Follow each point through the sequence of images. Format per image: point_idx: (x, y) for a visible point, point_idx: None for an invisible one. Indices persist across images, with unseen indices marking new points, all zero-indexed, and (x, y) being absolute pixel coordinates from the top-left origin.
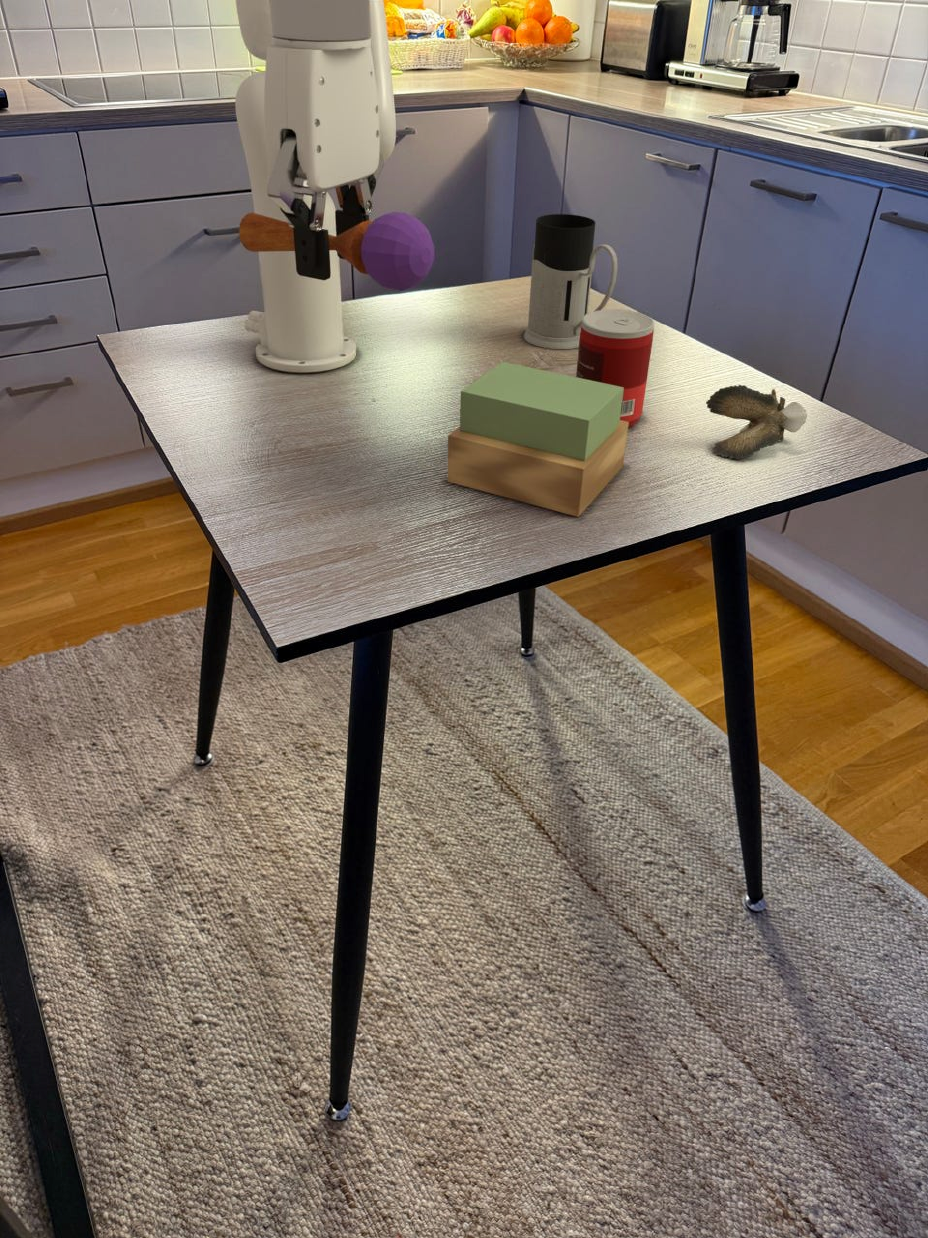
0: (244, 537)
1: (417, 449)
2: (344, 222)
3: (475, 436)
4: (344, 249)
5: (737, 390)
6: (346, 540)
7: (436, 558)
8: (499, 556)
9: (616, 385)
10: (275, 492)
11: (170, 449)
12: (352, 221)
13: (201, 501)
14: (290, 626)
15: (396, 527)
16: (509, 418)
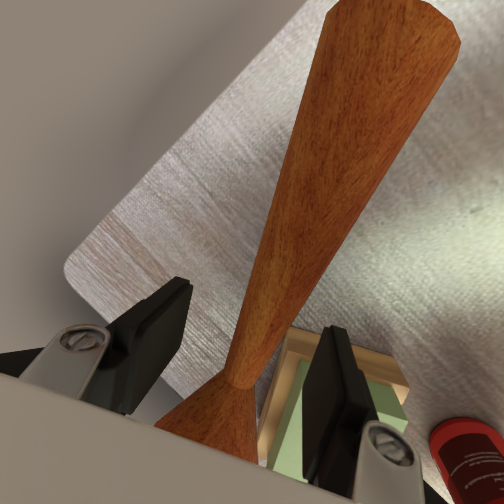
0: (153, 195)
1: (348, 288)
2: (324, 407)
3: (290, 374)
4: (171, 413)
5: None
6: (175, 272)
7: None
8: (191, 374)
9: (450, 492)
10: (228, 188)
11: (285, 30)
12: (313, 437)
13: (192, 129)
14: (74, 269)
15: (205, 302)
16: (285, 420)
